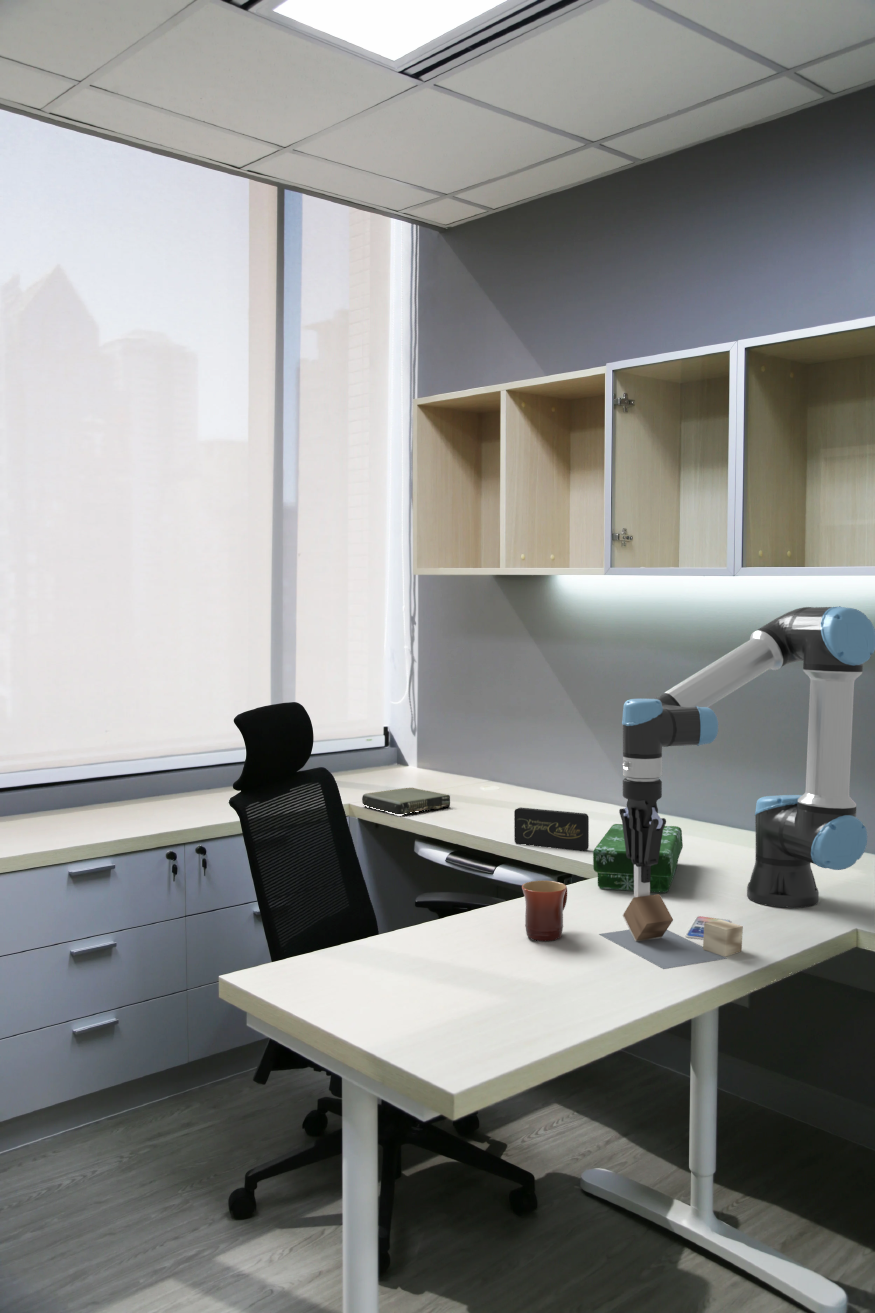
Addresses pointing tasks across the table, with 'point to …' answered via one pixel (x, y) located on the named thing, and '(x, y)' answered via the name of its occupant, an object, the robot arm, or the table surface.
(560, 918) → the mug
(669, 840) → the box
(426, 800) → the network switch
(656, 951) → the felt mat
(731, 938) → the maple block
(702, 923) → the smartphone
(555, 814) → the nameplate
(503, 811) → the table surface
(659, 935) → the walnut cube
